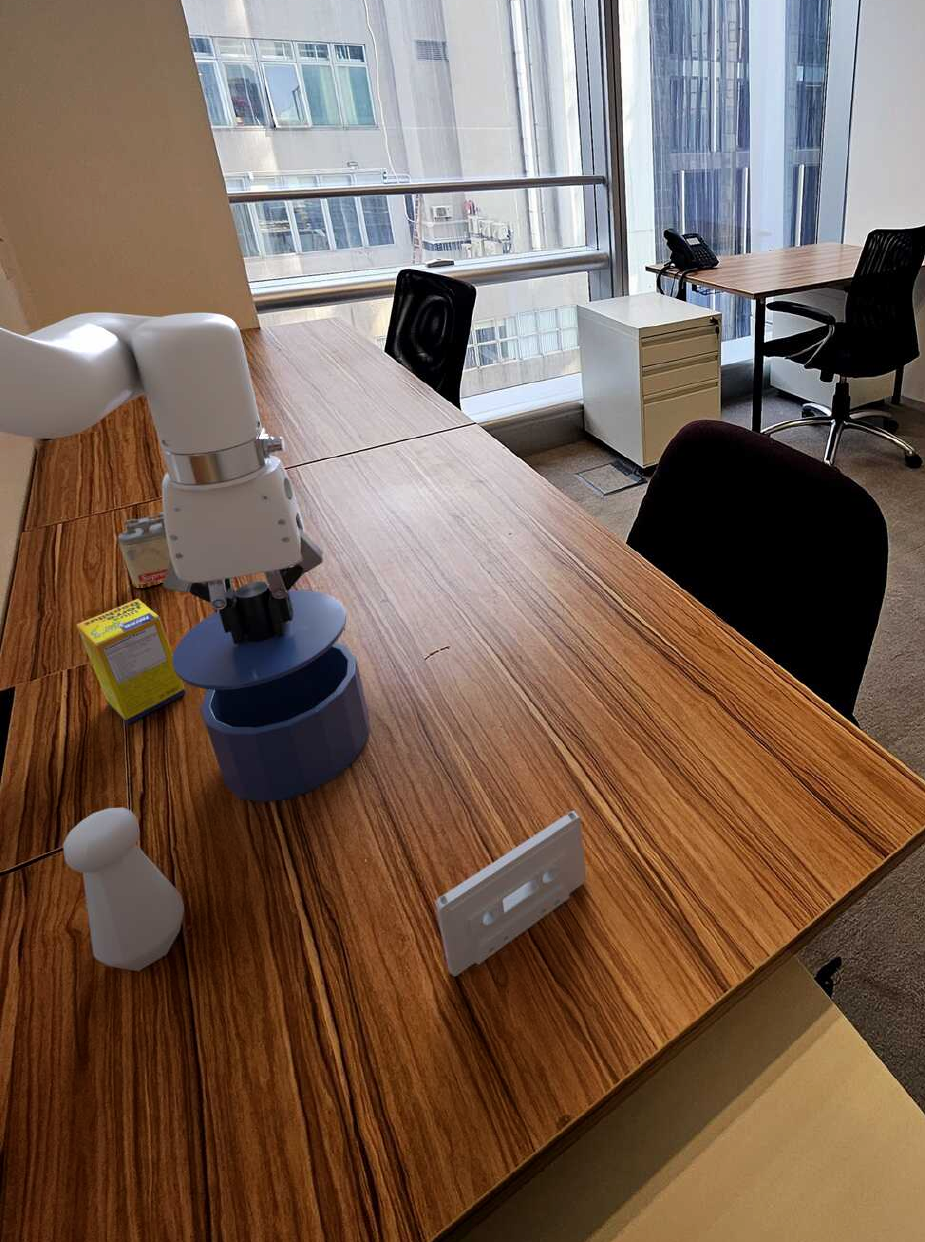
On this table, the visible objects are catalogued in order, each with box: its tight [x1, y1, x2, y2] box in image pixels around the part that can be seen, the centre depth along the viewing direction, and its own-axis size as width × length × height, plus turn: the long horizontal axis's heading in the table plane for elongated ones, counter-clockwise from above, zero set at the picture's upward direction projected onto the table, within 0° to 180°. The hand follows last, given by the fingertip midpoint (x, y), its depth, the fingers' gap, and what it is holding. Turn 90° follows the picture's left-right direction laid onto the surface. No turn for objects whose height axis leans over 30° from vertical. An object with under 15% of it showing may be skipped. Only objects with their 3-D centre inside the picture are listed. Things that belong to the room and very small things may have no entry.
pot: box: [199, 641, 371, 803], centre depth 75 cm, size 14×14×8 cm
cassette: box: [434, 810, 587, 977], centre depth 58 cm, size 12×2×8 cm, turn 131°
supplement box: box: [76, 598, 187, 726], centre depth 81 cm, size 6×6×11 cm
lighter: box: [117, 511, 171, 584], centre depth 104 cm, size 7×4×10 cm, turn 122°
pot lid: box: [172, 580, 347, 690], centre depth 70 cm, size 15×15×6 cm
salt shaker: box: [62, 806, 185, 972], centre depth 56 cm, size 6×6×13 cm
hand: (261, 629), depth 71 cm, fingers closed on pot lid, 2 cm apart
